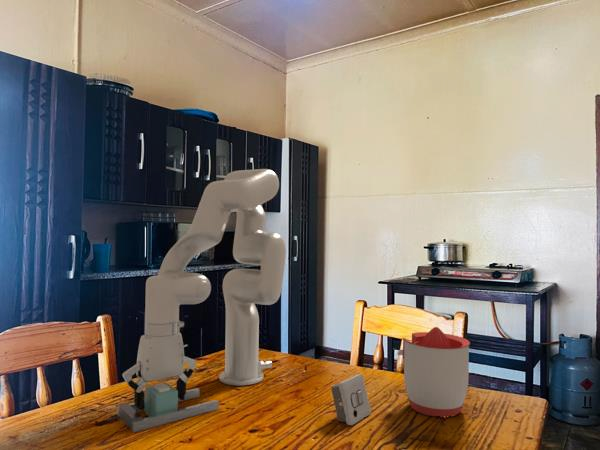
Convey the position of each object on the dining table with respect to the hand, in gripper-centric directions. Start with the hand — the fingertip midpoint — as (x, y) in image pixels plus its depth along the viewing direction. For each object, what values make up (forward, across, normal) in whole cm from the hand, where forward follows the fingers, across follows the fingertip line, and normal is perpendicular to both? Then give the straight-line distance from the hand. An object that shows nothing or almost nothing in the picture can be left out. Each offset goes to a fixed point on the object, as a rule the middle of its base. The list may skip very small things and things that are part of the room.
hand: (160, 403), depth 104 cm
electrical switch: (+3, -34, +28) cm, 44 cm away
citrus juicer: (+3, -54, +36) cm, 65 cm away
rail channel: (+3, -2, 0) cm, 3 cm away
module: (+3, 0, 0) cm, 3 cm away
